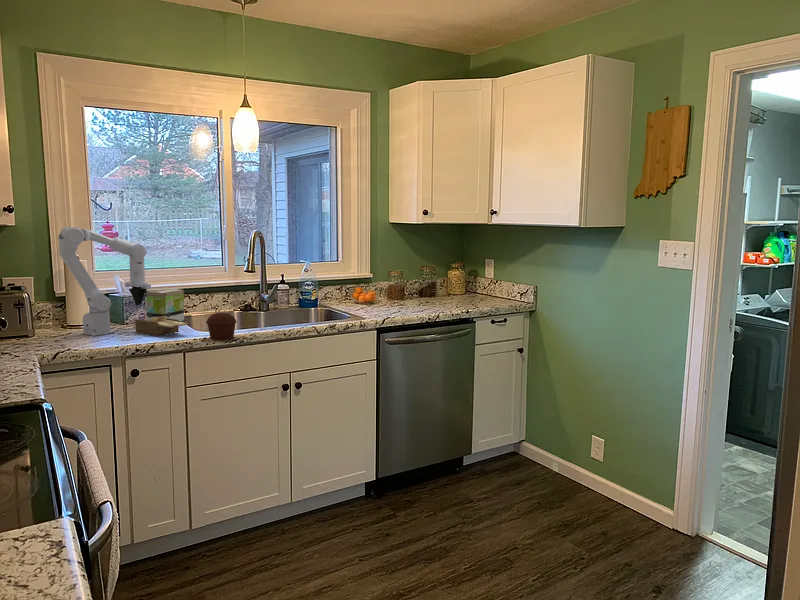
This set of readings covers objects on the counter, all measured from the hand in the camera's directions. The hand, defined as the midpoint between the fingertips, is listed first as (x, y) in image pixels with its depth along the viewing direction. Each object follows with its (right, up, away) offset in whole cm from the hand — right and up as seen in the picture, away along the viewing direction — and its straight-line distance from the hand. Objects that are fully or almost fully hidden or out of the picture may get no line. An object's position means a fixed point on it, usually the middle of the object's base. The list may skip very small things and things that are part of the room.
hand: (138, 304), depth 258 cm
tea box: (+4, -8, +20) cm, 22 cm away
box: (+10, -11, -6) cm, 17 cm away
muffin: (+39, -13, -14) cm, 44 cm away
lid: (+16, -8, -10) cm, 21 cm away
